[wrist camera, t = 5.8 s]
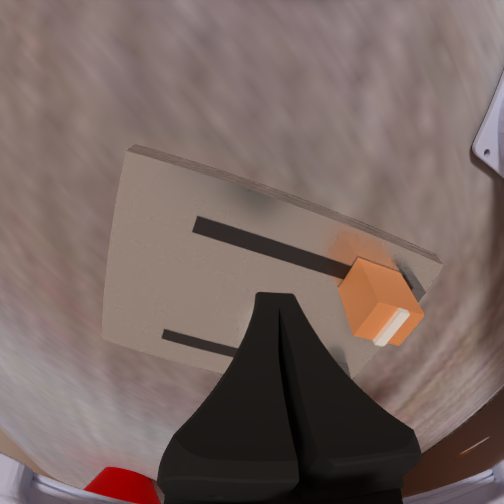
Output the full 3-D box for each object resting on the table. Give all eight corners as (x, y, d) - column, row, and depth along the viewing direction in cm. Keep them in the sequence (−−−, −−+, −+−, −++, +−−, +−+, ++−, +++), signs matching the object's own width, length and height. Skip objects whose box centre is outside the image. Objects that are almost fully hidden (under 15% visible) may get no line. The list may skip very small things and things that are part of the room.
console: (435, 254, 18) (455, 280, 15) (335, 381, 24) (341, 409, 22) (134, 144, 14) (113, 160, 12) (106, 326, 21) (94, 355, 18)
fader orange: (400, 272, 17) (427, 319, 13) (380, 301, 18) (401, 349, 15) (357, 257, 16) (380, 306, 13) (337, 289, 17) (354, 340, 14)
